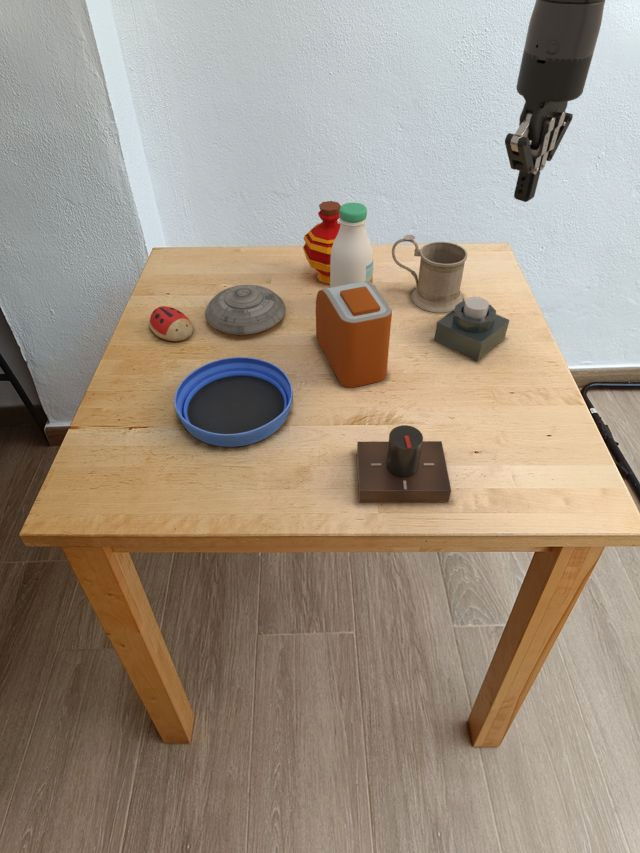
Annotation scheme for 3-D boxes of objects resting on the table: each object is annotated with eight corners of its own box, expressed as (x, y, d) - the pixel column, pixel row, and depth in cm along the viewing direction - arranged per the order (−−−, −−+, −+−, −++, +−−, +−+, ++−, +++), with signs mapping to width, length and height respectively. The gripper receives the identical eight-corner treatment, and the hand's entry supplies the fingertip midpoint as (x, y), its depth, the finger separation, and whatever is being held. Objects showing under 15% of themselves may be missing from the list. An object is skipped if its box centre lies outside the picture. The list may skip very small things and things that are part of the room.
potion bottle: (356, 264, 122) (358, 194, 112) (353, 291, 115) (355, 219, 105) (306, 263, 123) (304, 193, 113) (300, 289, 116) (297, 217, 105)
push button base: (504, 338, 104) (512, 310, 99) (477, 362, 99) (483, 333, 95) (462, 319, 108) (467, 290, 104) (433, 340, 103) (438, 312, 99)
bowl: (249, 468, 83) (246, 452, 80) (154, 423, 90) (149, 406, 87) (315, 395, 94) (314, 378, 91) (226, 360, 100) (223, 343, 98)
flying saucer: (295, 300, 113) (294, 275, 109) (272, 345, 103) (269, 320, 99) (223, 290, 116) (219, 266, 112) (193, 334, 106) (188, 308, 102)
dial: (383, 454, 81) (386, 424, 77) (415, 451, 81) (419, 422, 77) (389, 478, 78) (392, 449, 74) (421, 475, 78) (426, 446, 74)
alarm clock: (391, 379, 96) (398, 309, 87) (343, 390, 94) (344, 320, 85) (360, 329, 106) (363, 262, 97) (315, 338, 104) (314, 270, 95)
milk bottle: (355, 326, 107) (359, 222, 93) (322, 311, 110) (320, 209, 96) (378, 306, 111) (385, 205, 97) (345, 293, 115) (347, 193, 100)
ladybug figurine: (173, 349, 103) (169, 332, 100) (140, 327, 108) (136, 311, 105) (202, 332, 106) (199, 315, 104) (169, 311, 111) (166, 295, 109)
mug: (464, 288, 115) (475, 231, 107) (460, 315, 109) (471, 257, 100) (392, 279, 118) (397, 223, 110) (384, 306, 111) (388, 248, 103)
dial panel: (439, 452, 84) (441, 440, 83) (448, 502, 78) (451, 489, 76) (356, 453, 85) (357, 440, 83) (359, 502, 78) (360, 490, 76)
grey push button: (491, 312, 100) (493, 302, 98) (478, 322, 98) (480, 312, 96) (471, 303, 102) (473, 293, 100) (458, 313, 100) (460, 303, 98)
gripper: (556, 32, 71) (523, 176, 83) (498, 53, 64) (471, 207, 76) (616, 41, 67) (572, 191, 79) (562, 65, 60) (523, 224, 72)
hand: (523, 198), depth 78 cm, fingers closed
